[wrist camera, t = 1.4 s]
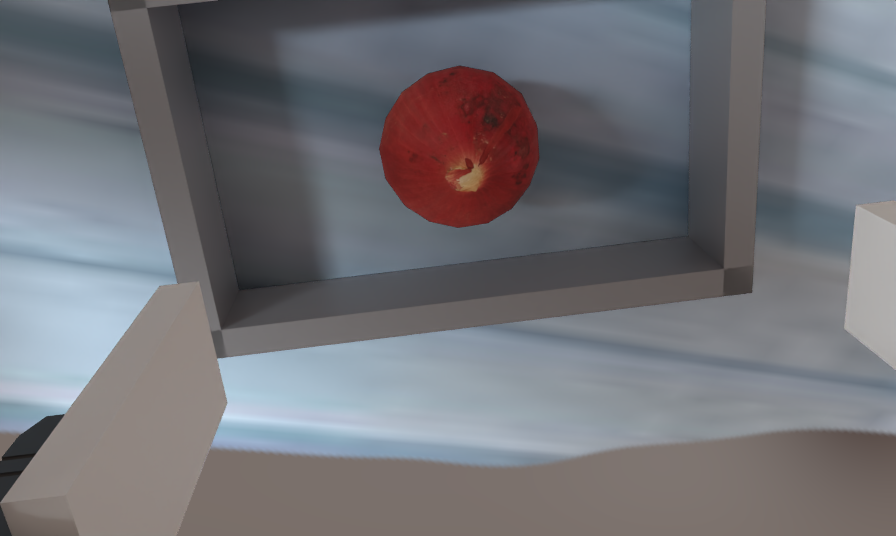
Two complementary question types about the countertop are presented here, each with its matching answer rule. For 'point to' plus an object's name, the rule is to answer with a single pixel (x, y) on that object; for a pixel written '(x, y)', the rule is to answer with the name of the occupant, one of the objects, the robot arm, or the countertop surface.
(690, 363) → the countertop surface
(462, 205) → the onion
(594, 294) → the bin
